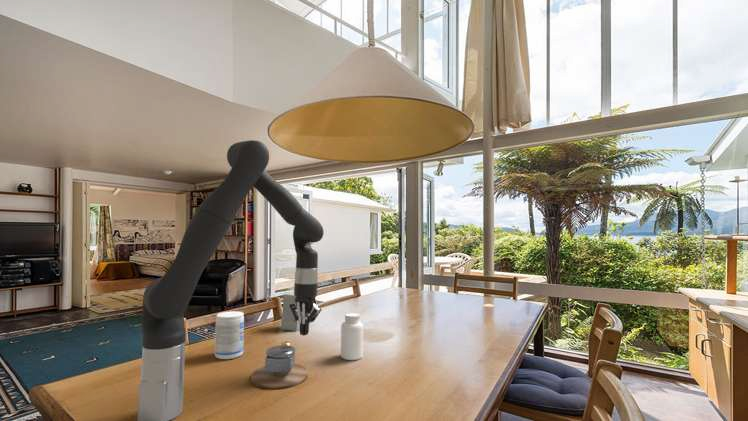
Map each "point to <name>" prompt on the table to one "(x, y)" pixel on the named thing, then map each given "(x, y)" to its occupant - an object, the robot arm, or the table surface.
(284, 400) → the table surface
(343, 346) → the pill bottle
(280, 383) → the post base
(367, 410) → the table surface
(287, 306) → the skincare box
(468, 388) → the table surface
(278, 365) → the coupling
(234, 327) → the supplement tub
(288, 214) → the robot arm
